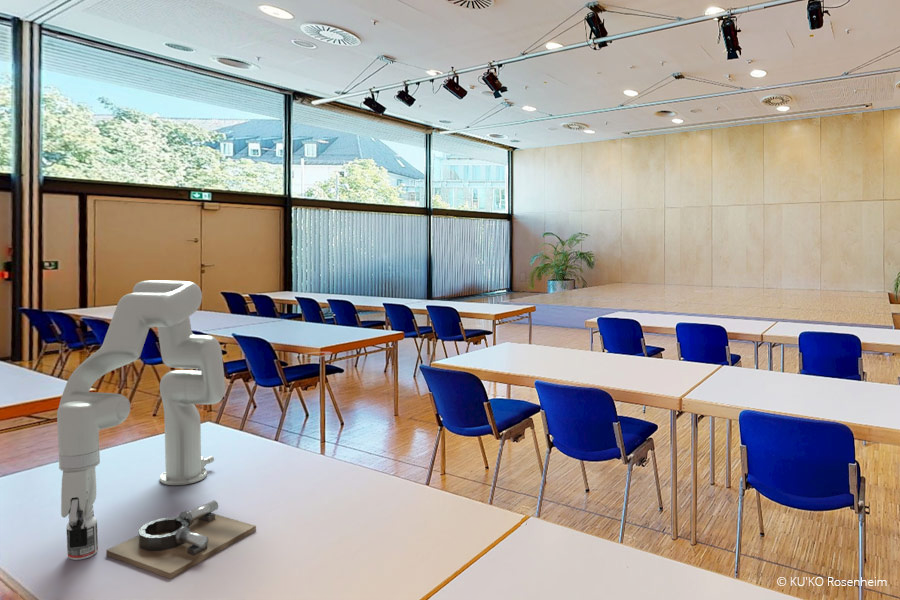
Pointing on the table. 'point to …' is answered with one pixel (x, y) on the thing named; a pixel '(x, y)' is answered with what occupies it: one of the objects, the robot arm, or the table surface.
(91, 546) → the pill bottle
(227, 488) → the table surface
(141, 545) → the stand
